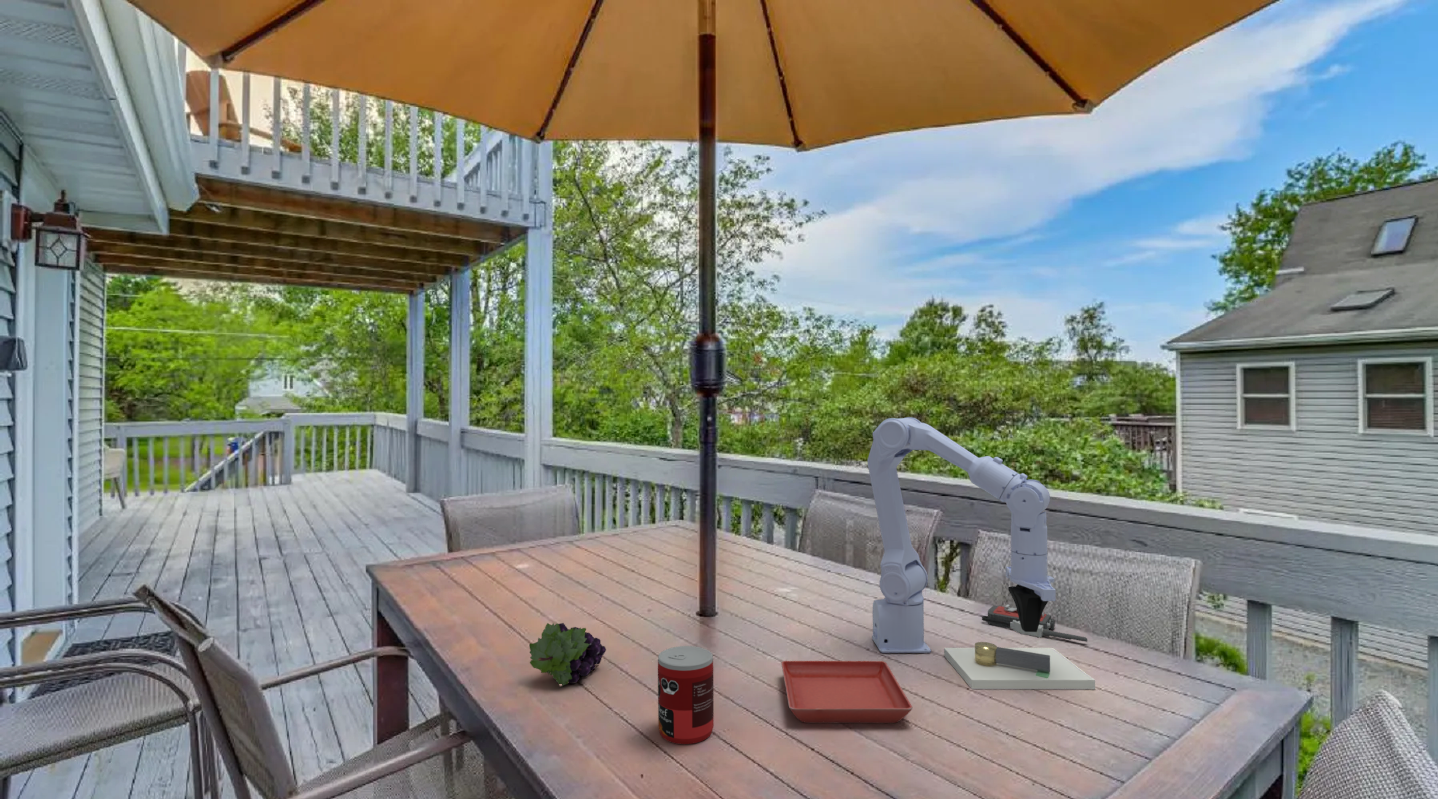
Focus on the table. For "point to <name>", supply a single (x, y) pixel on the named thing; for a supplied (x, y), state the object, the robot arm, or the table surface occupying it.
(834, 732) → the table surface
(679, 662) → the canned food
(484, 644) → the table surface
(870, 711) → the plant saucer
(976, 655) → the dial lever
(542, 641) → the fruit
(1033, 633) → the walkie-talkie
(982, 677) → the dial board
